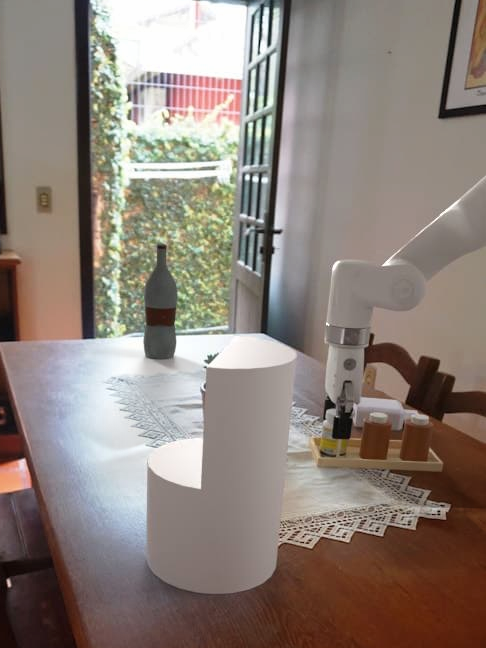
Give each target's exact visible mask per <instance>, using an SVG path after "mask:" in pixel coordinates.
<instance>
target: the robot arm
mask: <svg viewBox="0 0 486 648" xmlns="http://www.w3.org/2000/svg"><path fill="white" fill-rule="evenodd" d="M484 247H486V175H484V176H483V177H482V178H481V179H480V180H479V181H478V182H476V183H475V184H474V185H473V186H472V187H471V188H470V189H469V190H467V191H466V193H464V194H463V195H462V196H461V197H459V198H458V200H456V201H454V203H453V204H451V205H450V206H449V207H448V208H447V209H445V210H444V211H443V212H442V213H441V214H440V215H439V216H437V218H435V219H434V220H433V221H431V222H430V223H429V224H428V225H427V226H426V227H424V228H423V229H422V230H421V231H419V232H418V233H417V234H416V235H414V236H413V238H411V239H410V240H409V241H407V243H405V245H403V246H402V247H401V248H400V249H399V250H398V251H396V252H395V253H394V254H393V255H392V256H391V257H390V258H389V259H388V260H386V261H385V262H384V264H383V265H379V264H376V263H375V262H372V261H369V260H362V259H341V260H338V261H336V262H335V263H334V264H333V267H332V270H331V278H330V287H329V296H328V305H327V312H326V313H327V314H326V324H325V333H324V341H323V343H324V344H326V345H328V346H329V348H328V355H327V362H326V369H325V379H324V389H325V392H326V393H325V399H324V404H323V414H322V419H323V422H324V421H325V420H326V411H327V410H329V409H336V416H334V420H333V428H332V438H333V439H347V440H348V439H350V438H352V437H351V436H352V428H353V411H354V409H353V406H354V403H355V404H356V405H358V404H359V403H360V402H361V397H362V391H363V380H364V369H365V368H364V367H365V349H366V348H368V347H369V345H370V344H369V343H370V338H371V337H370V336H371V330H372V321H373V315H374V313H373V312H374V308H378V309H384V310H387V311H391V312H392V311H393V312H409V311H411V310H412V309H414V308H416V307H417V306H419V305H420V304H421V303H422V302H423V300H424V299H425V296H426V294H427V289H428V287H427V285H428V284H427V283H429V281H430V280H432V279H433V278H434V277H435V276H436V275H438V274H439V273H440V272H441V271H442V270H444V269H445V268H446V267H448V266H449V265H450V264H452V263H453V262H455V261H457V260H458V259H460V258H461V257H464V256H466V255H469V254H470V253H474V252H477V251H478V250H481V249H483V248H484ZM340 409H341V410H340Z"/></svg>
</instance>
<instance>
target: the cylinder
mask: <svg viewBox="0 0 486 648" xmlns="http://www.w3.org/2000/svg"><path fill="white" fill-rule="evenodd" d="M297 357H298V356H297V351H295V350H294V349H293V348H291V347H290V346H287V345H285V344H282V343H279V342H276V341H273V340H269V339H265V338H259V337H253V336H245V335H236V334H235V336H234V337H233V338H232V339H231V340H230V341H229V343H228V344H227V345H226V346H225V347H224V348H223V349H222V350H221V351H220V352H219V353H218V354H217V355H216V356H215V358H214V359H212V360H211V362H210V363H209V364H208V365H207V366H206V370H205V389H204V390H205V391H204V408H203V409H204V410H203V411H204V412H203V413H204V414H203V433H202V437H193V438H182V439H178V440H174V441H171V442H167V443H164V444H162V445H160V446H157V447H156V448H155V449H154V450H152V451H151V452H150V453H149V455H148V457H147V460H146V523H145V525H146V526H145V527H146V530H145V531H146V533H145V534H146V535H145V536H146V537H145V558H146V564H147V567H148V568H149V569H150V571H151V572H152V574H153V575H155V576H156V577H157V578H158V579H159V580H161V581H163V582H164V583H165V584H168V585H171V586H173V587H175V588H177V589H181V590H184V591H188V592H192V593H196V594H208V595H224V594H225V595H226V594H235V593H240V592H244V591H248V590H251V589H253V588H256V587H258V586H261V585H263V584H264V583H265V582H266V581H268V580H269V579H270V578H271V577H272V576H273V574H274V572H275V570H276V569H277V562H278V551H279V541H280V540H279V539H280V531H281V530H280V529H281V520H282V509H283V502H284V501H283V500H284V499H283V498H284V490H285V479H286V471H287V461H288V460H287V459H288V451H289V450H288V448H289V441H290V439H289V438H290V429H291V419H292V408H293V398H294V390H295V389H294V388H295V380H296V379H295V377H296V370H297V369H296V367H297V359H298V358H297Z"/></svg>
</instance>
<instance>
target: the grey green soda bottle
mask: <svg viewBox="0 0 486 648" xmlns="http://www.w3.org/2000/svg"><path fill="white" fill-rule="evenodd" d="M167 247H168V245H167V244H165V243H158V244H156V265H155V267H154V268H153V270H152V272H151V274H150V275H149V276H148V278H147V279H146V281H145V285H144V292H143V304H144V317H145V327H144V333H143V349H144V350H143V351H144V355H145V358H146V357H147V358H149V359H154V360H169V359H173V358H174V357H175V354H176V348H177V332H176V325H175V324H176V317H177V316H176V314H177V305H178V295H179V294H178V286H177V282H176V280H175V278H174V277H173V275H172V273H171V271H170V269H169V268H168V266H167Z"/></svg>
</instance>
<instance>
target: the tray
mask: <svg viewBox="0 0 486 648" xmlns="http://www.w3.org/2000/svg"><path fill="white" fill-rule="evenodd" d="M321 437H322V436H309V437H308V446H309V449H310V452H311V454H312V457H313V459H314V462H315V464H316V467H317V468H318V467H320V468H345V469H365V470H367V469H369V470H391V471H413V472H414V471H416V472H443V468H444V462H443V461H442V460H441V459H440V457H439V456H438V455H437V454H436V453H435V452H434V450H433V449H432V447H430V449H429V454H428V459H427V462H419V461H403V460H401V459H400V457H399V455H400V449H401V443H402V439H390V441H389V447H388V453H387V459H386V460H371V459H362V458H360V457H359V451H360V444H361V438H354V437H353V438H352V437H350V439H348V442H347V450H346V456H345V457H344V458H325V457H323V456H321V455H320V446H321Z"/></svg>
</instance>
